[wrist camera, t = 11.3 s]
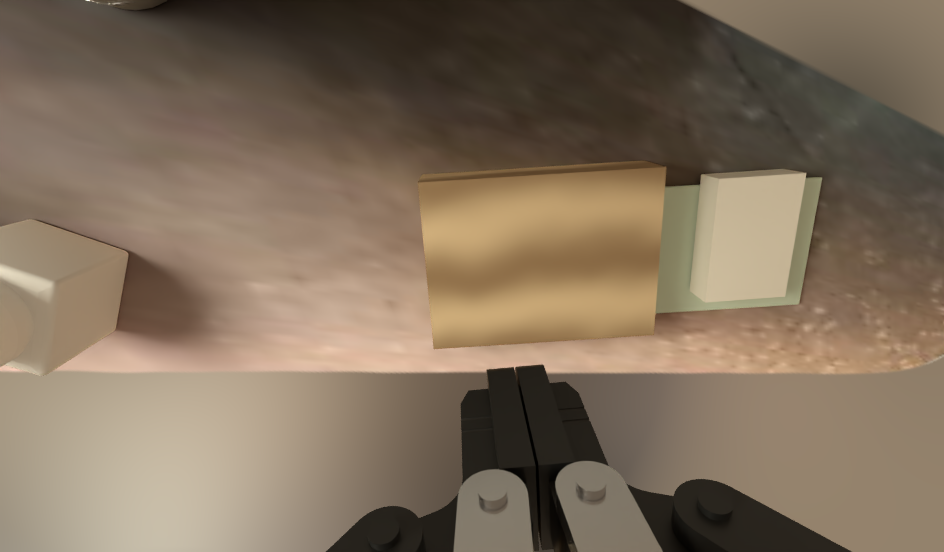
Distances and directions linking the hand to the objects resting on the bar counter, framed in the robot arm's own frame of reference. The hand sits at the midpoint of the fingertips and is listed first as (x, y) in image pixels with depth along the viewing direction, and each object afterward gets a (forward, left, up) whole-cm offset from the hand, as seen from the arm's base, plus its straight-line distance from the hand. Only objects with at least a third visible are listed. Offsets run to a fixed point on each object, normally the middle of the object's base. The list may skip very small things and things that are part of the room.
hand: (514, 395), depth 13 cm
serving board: (+3, +4, -24) cm, 25 cm away
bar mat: (+4, +19, -24) cm, 31 cm away
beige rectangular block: (+3, +19, -21) cm, 29 cm away
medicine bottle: (+3, -31, -24) cm, 39 cm away
